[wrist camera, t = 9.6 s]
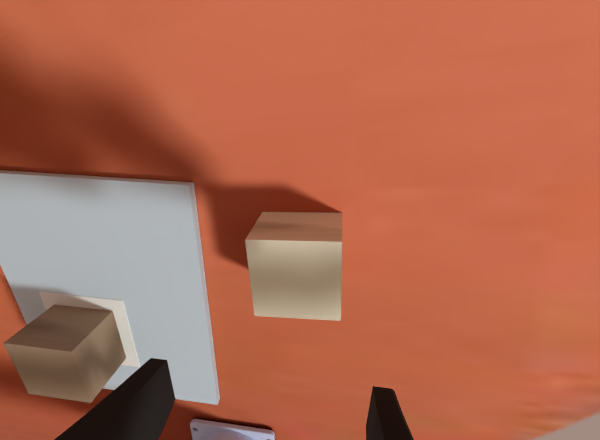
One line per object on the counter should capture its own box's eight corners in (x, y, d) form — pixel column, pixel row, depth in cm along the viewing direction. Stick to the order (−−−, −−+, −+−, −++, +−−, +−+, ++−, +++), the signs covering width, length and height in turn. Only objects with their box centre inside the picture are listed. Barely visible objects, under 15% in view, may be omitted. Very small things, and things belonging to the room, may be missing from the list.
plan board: (219, 398, 27) (217, 405, 27) (56, 375, 29) (50, 381, 28) (193, 182, 19) (189, 185, 19) (-31, 168, 21) (-42, 170, 20)
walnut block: (126, 358, 26) (90, 403, 22) (72, 351, 26) (28, 393, 23) (112, 310, 24) (71, 351, 20) (54, 304, 24) (3, 343, 21)
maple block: (341, 279, 21) (340, 320, 17) (269, 277, 22) (254, 315, 18) (342, 211, 19) (341, 241, 15) (263, 211, 20) (245, 239, 16)
